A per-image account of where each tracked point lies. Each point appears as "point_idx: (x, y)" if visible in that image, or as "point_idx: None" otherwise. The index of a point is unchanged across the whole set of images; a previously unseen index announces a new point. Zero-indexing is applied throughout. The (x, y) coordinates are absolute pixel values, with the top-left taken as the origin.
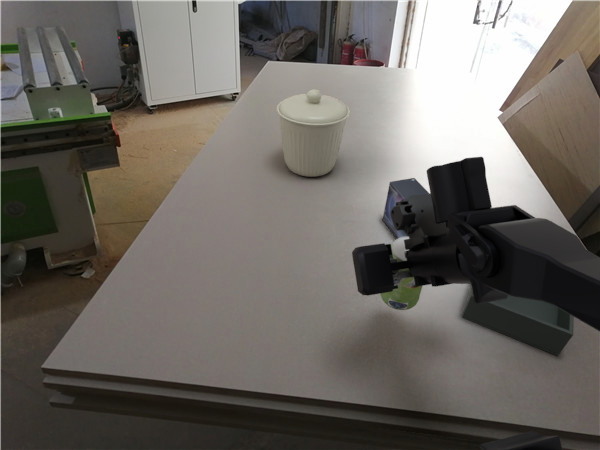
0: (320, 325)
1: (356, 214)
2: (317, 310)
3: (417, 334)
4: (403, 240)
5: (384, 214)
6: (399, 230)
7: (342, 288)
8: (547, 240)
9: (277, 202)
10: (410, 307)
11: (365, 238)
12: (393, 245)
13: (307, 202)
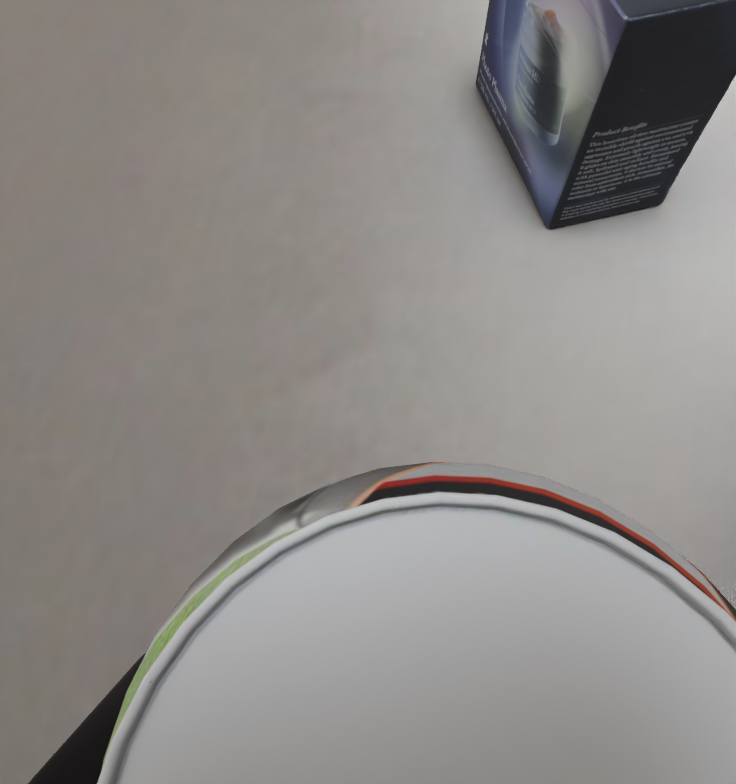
0: (50, 696)
1: (370, 62)
2: (62, 595)
3: None
4: (379, 600)
5: (482, 59)
6: (536, 142)
7: (219, 456)
8: None
9: (57, 13)
10: None
11: (384, 178)
12: (146, 733)
13: (180, 10)
